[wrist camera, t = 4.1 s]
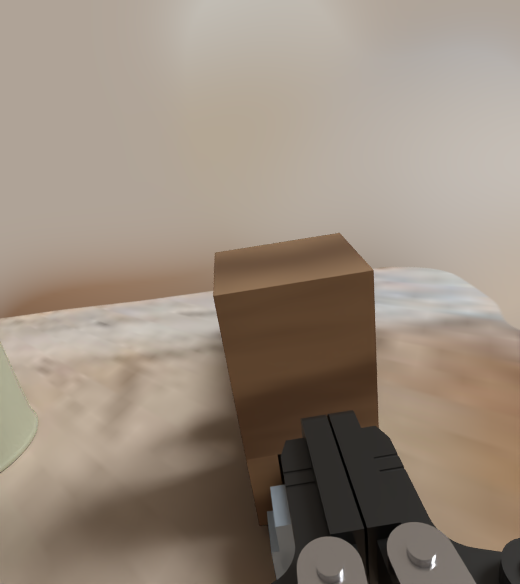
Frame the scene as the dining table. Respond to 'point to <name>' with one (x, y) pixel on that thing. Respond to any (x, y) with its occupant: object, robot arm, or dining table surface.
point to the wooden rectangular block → (295, 344)
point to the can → (13, 415)
